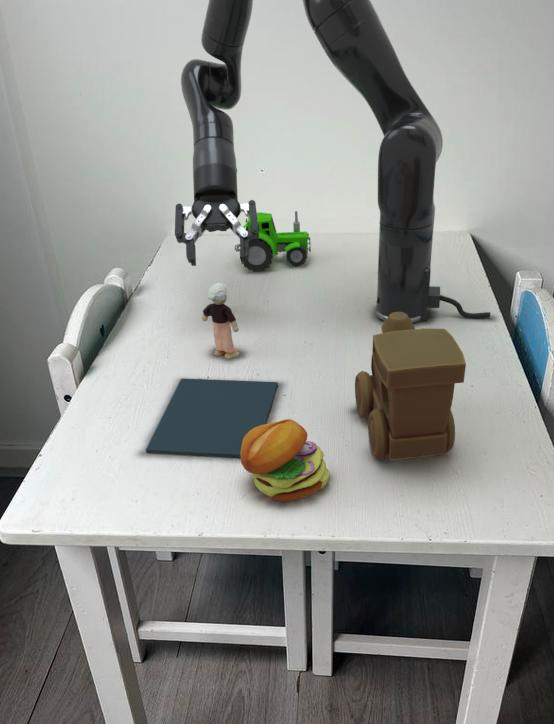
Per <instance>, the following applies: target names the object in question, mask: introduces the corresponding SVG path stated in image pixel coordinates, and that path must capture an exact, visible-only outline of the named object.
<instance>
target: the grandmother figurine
mask: <svg viewBox="0 0 554 724" xmlns="http://www.w3.org/2000/svg"><path fill="white" fill-rule="evenodd" d="M227 292H228V291H227V287H226V285H225V284H224V283H222V282H216V283H214V284H212V286H211V287H209V289H208V291H207V294H206V298H207V300H209V301H211V302H212V303H210V304H208V305H207V306H206V307H205V308H204V309H202V317H201V321H203V322H207V321H208V320H209V317H211V321H212V329H213V330H212V331H213V339H214V344H215V349H216V350H215V351H214V353H213V354H214V356H216V357H220V356H223V355H224V358H225V359H227V360H230V359H233V358H236V357H239V356H240V354H241V353H240V351H239V350H238V349H236V348H235V347H234V341H233V335H232V331H233V332H234V333H238V332H239V331H240V327H239V326H238V322H237V318H236V316H235V315H234V312H233V311H232V308H230V307H229V306H228V305H226V302H227V300H228V299H227V298H228V295H227Z"/></svg>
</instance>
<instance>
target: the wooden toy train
mask: <svg viewBox="0 0 554 724" xmlns="http://www.w3.org/2000/svg"><path fill="white" fill-rule="evenodd" d="M370 358H371V359H370V361H371V362H370V363H371V364H370V370H371V374H370V373H369V372H367V371H364V370H361V371H359V372H358V373H357V374H356V376H355V378H354V395H355V396H354V397H355V405H356V410H357V413H358V415H359V417H361V418H363V419H365V420H367V419H368V421H367V430H368V431H367V432H368V442H369V448H370V451H371V454H372V456H373V457H374V458H375V459H376V460H380V461H382V460H385V459H386V458H387V457H388V458H389V460H390V461H393V460H394V461H395V460H404V459H405V460H406V459H414V458H424V457H425V458H426V457H434V456H435V457H436V456H442V455H443V456H444V455H446V454H447V453H449V452H450V451H451V450H453V447H454V445H455V441H456V425H455V419H454V414H453V411H452V405H453V400H454V393H455V386H456V385H455V384H463V383H465V376H466V368H467V367H466V366H467V363H466V359H465V356H464V353H463V350H462V349H461V347H460V346H459V344H458V342H457V341H456V339H455V338H454V336H453V335H452V334H451V333H450V332H449V331H448V330H447V329H445V328H425V327H424V328H423V327H422V328H416V327H415V323H412V321H411V320H410V318H409V317H408V315H407V314H405V313H403V312H393V313H391V314H390V315H389V316H388V318H387V319H386V321H383V323H382V325H381V333H377V334H373V335H372V354H371V357H370Z"/></svg>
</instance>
